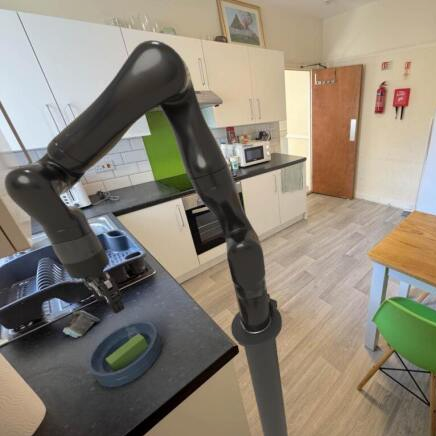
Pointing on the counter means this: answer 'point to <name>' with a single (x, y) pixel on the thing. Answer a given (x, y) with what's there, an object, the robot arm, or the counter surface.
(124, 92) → the robot arm
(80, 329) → the crumpled grey bag
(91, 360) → the bowl
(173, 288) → the counter surface
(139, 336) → the bar
